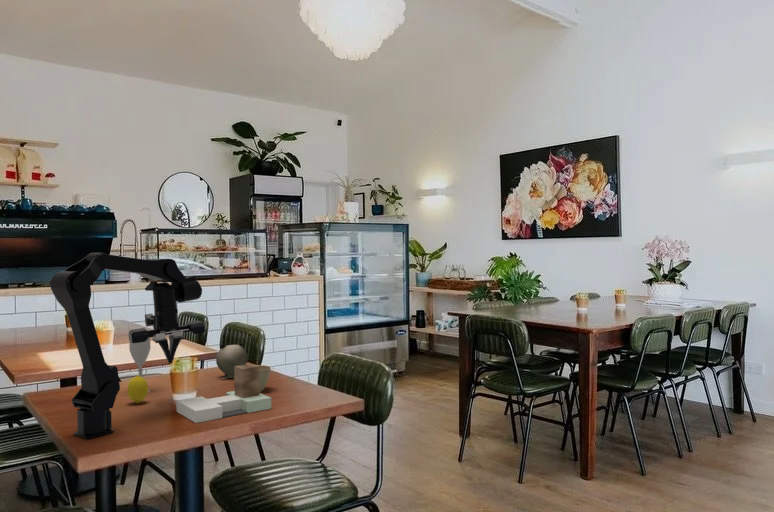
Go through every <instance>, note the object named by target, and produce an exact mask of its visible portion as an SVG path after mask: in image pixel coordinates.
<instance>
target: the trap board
mask: <svg viewBox="0 0 774 512" xmlns="http://www.w3.org/2000/svg"><path fill="white" fill-rule="evenodd" d="M175 400H176V399H175ZM175 405H176V412H177V414H180V415H182V416H184V418H187V419H188V420H189V421H192V422H193V423H195V424H198V423H203V422H208V421H213V420H218V419H224V418H229V417H230V418H231V417H233V416H240V415H245V414H246V415H247V414H250V413H255V412H256V413H257V412H261V411H266V410H270V409H272V396H271V397H270V396H268V395H266V394H263V393H261V392H259V396H253V397H247V398H241V397H238V396H236V395H235V390H232V391H227V392H225V395H224V396H218V397H211V398H206V397H204V396H202V395H201V396H195V397H188V398H183V399H177V400H176V403H175Z"/></svg>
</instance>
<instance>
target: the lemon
mask: <svg viewBox="0 0 774 512" xmlns="http://www.w3.org/2000/svg"><path fill="white" fill-rule="evenodd" d="M148 390H149V384H148V381H147V380H146V378H144V376H143V377H140V376H139V374H138V375H136V376H135V377H132V378H131V379H129V382H128V385H127V391H126V393H127V396H128V398H129V399H130V400H131V401H133V402H135V404H140V403H141V402H142V401H144V400H145V399H146V398H147V396H148V393H149V392H148Z"/></svg>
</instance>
